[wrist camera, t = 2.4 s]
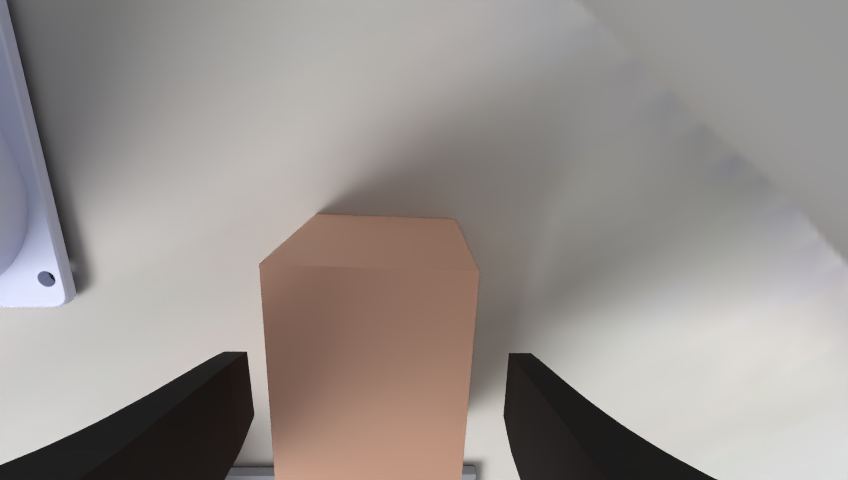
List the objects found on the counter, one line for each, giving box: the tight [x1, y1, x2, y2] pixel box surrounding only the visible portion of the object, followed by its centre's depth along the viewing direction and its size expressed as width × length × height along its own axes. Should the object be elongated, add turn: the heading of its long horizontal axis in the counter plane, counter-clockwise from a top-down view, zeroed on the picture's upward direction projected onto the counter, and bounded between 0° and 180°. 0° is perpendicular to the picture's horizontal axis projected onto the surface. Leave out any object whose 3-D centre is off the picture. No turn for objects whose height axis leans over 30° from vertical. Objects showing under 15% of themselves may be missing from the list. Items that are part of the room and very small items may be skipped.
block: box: [259, 214, 480, 480], centre depth 12 cm, size 8×4×5 cm, turn 178°
